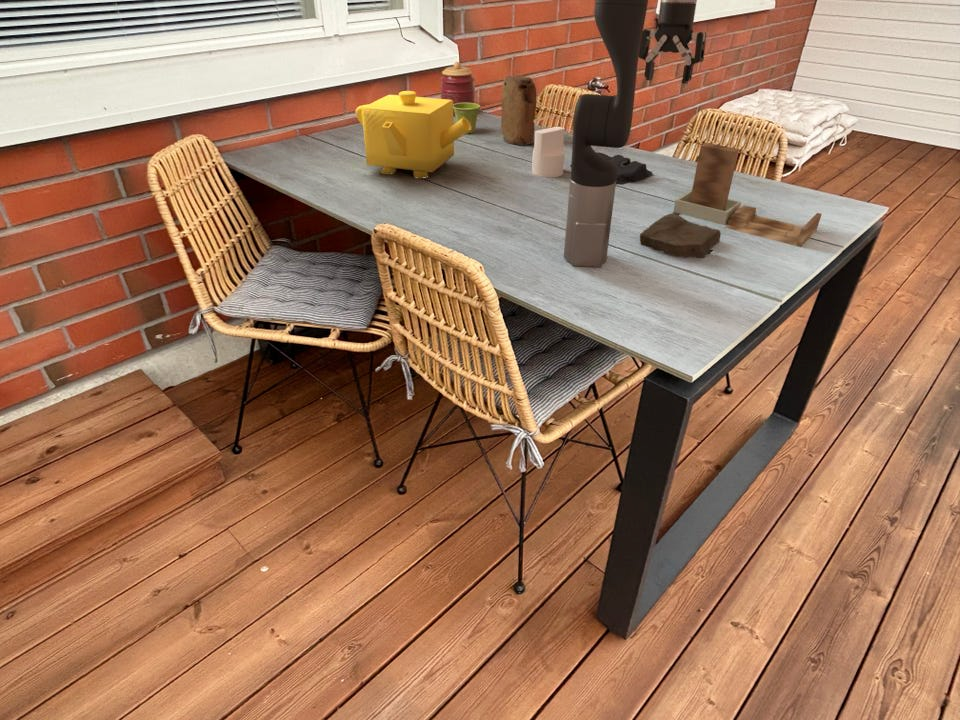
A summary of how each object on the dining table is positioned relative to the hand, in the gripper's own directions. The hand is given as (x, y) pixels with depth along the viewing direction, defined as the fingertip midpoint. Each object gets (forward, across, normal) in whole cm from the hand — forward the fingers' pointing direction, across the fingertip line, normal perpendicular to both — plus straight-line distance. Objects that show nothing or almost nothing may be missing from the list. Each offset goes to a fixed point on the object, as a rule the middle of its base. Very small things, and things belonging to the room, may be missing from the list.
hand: (666, 81), depth 147 cm
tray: (+30, +13, +6) cm, 33 cm away
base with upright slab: (+28, -36, +11) cm, 47 cm away
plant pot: (+25, -81, +31) cm, 91 cm away
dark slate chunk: (+29, -22, +23) cm, 43 cm away
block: (+26, -60, +32) cm, 73 cm away
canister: (+23, -100, +51) cm, 115 cm away
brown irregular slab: (+32, +14, -14) cm, 38 cm away
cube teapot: (+28, -69, -11) cm, 75 cm away
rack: (+31, +28, +5) cm, 42 cm away
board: (+29, +13, +6) cm, 32 cm away
